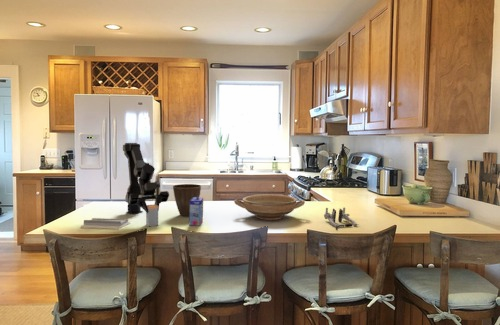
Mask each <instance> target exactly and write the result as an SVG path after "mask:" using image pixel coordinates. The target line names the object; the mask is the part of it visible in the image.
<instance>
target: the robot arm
mask: <svg viewBox="0 0 500 325" xmlns="http://www.w3.org/2000/svg"><path fill="white" fill-rule="evenodd" d="M122 151H123V153H124V156H125V157H126V158H127V165H128V177H129V178H128V179H129V186H128V188H127V191H126V195H125V198H124V199H125V202H126V203H127V211H126V212H125V213H127V214H140V213H143V210H144V212H145V213H146V212H147V213H148V208H147V205H148V204H147V203H146V201H149V200H150V201H151V200H152V201H153V200H154V204H156V205H157V206H158V212H159V210H160V204H161V203H166V202H168V199H169V197H170V193H169V191H168V190H167V191H166V190H164V191H161V190H160V191H159V194H156V192H157V191H156V190H157V189H159V188H160V187H161V184H160V181H157V180H156V181H154V182H153V181H152V179H153V177H154V173H155V169H156V168H155V167H154V166H153V165H152V164H150V163H149V162H145V160H144V157H143V154H142V151H141V144H140V143H137V142H124V144H122Z"/></svg>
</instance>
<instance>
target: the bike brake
mask: <svg viewBox="0 0 500 325" xmlns="http://www.w3.org/2000/svg"><path fill="white" fill-rule="evenodd" d="M328 211H329V208H328V207H326V208H325V213H324V214H323V218H324V219H325V220H328V222H329V223H330V224H331V225H332V226H333V227H335V231H338V228H345V227H346V228H349V227H353V226H354V227H358V226H359V225H360V224H357V222H356V221H354V219H352V218H350V217H349V216H350V214H349V213H346V207H343V208H339V209H338V218H336V217H337V210H336V209H335V208H333V209H332V211H331V213H330V212H328ZM336 219H337V221H338V222H339V223H336ZM343 220H345V221H347V222H350V223H347V224H345V223H342V221H343ZM351 223H352V224H351Z"/></svg>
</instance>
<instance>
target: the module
mask: <svg viewBox="0 0 500 325" xmlns="http://www.w3.org/2000/svg"><path fill="white" fill-rule="evenodd" d="M146 205H147V208H148V213H147V212H146V211H145V217H146V218H145V221H146V224H145V225H146V226H147V225H148V227H149V226H151V227H156V226H155V225H158V226H159V211H158V206H157V205H156V204H155V203H154V204H146Z"/></svg>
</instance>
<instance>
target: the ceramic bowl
mask: <svg viewBox="0 0 500 325" xmlns="http://www.w3.org/2000/svg"><path fill="white" fill-rule="evenodd" d="M233 202H234V204H235V205H236V206H238V207H240V208H242V209H245V210H246V211H247V212H248V213H250V214H252V215H255V216H256V217H257V219H260V220H263V221H264V220H265V221H275V220H276V221H277V220H281V219H282V218H283V216H286V215H288V214H291V213H292V212H294V210H296V209H298V208H300V207H302V206H304V205H305V200H302V199H301V200H299V201H298V199H297V198H295V197H294V196H290V195H284V194H269V193H268V194H254V195H253V194H252V195H248V196H244V197H243V198H242V200H239V199H234V200H233Z"/></svg>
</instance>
